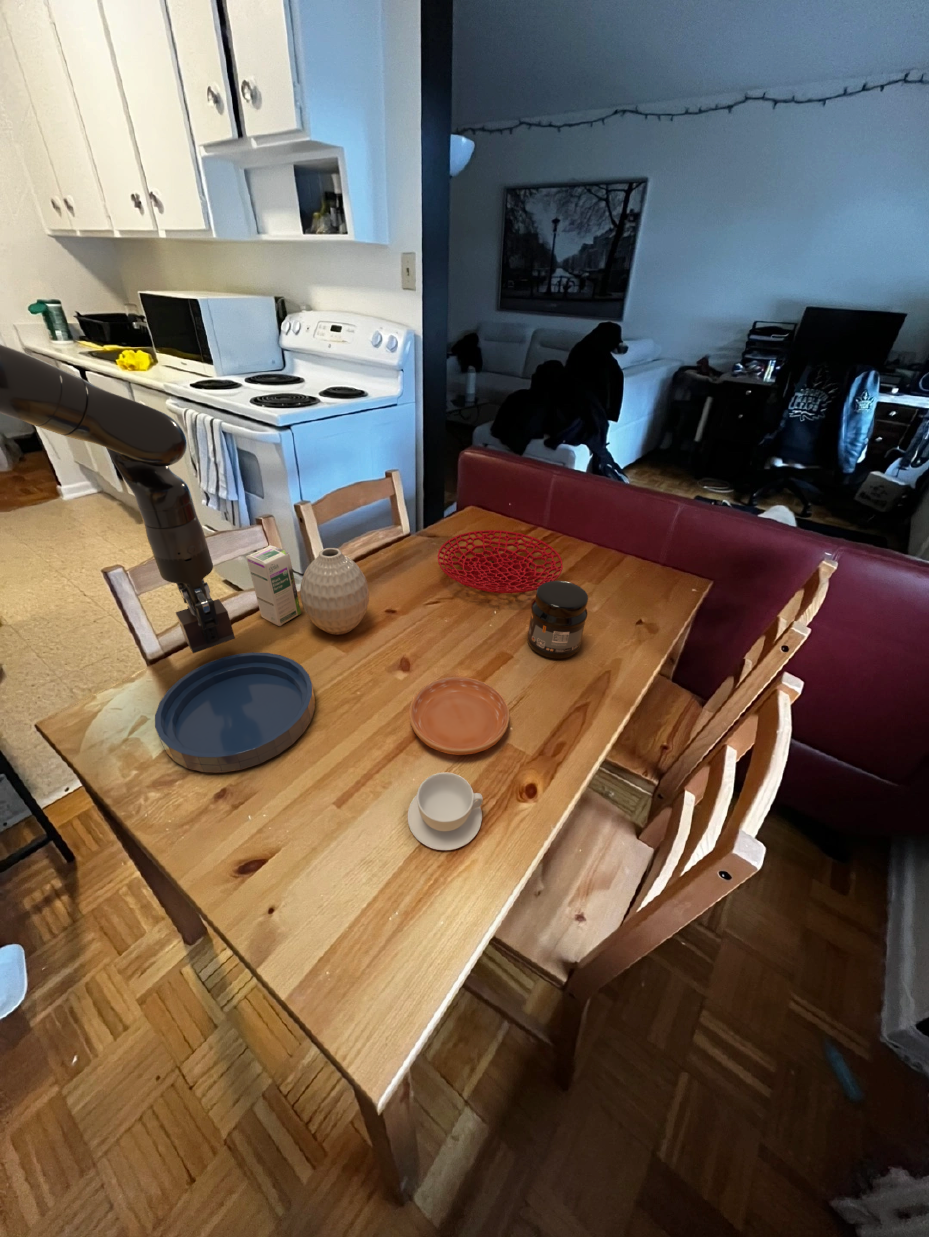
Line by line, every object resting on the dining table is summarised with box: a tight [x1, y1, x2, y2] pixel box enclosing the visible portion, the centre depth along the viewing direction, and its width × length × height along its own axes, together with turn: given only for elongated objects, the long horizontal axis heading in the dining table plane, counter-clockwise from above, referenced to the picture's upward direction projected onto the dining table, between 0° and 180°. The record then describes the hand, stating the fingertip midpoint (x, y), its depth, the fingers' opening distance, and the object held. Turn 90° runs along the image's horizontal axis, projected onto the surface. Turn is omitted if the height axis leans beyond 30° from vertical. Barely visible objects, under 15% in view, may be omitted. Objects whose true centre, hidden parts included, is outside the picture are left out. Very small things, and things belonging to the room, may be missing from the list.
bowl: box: [437, 529, 564, 594], centre depth 118 cm, size 29×29×5 cm
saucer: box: [408, 676, 510, 756], centre depth 80 cm, size 16×16×3 cm
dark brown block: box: [175, 598, 236, 654], centre depth 85 cm, size 7×4×6 cm, turn 129°
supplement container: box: [526, 580, 589, 660], centre depth 95 cm, size 10×10×12 cm
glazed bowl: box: [154, 651, 316, 773], centre depth 79 cm, size 23×23×4 cm
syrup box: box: [245, 544, 302, 627], centre depth 98 cm, size 6×6×14 cm
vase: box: [299, 547, 370, 636], centre depth 96 cm, size 13×13×17 cm
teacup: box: [407, 771, 484, 851], centre depth 66 cm, size 10×10×5 cm
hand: (208, 633), depth 86 cm, fingers closed on dark brown block, 4 cm apart
